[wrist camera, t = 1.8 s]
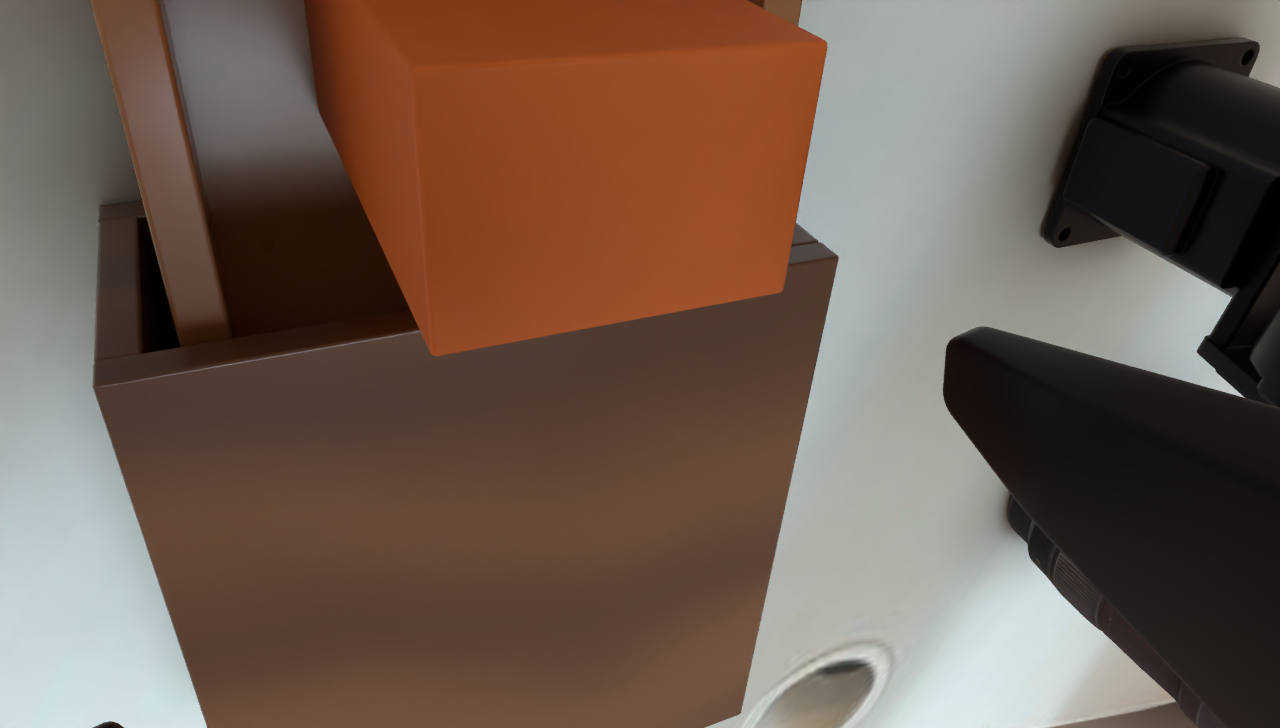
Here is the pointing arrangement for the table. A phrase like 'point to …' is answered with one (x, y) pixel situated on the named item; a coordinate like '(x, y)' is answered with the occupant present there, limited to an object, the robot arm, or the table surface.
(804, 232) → the cabinet
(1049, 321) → the table surface
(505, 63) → the orange rectangular block
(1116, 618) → the camera lens
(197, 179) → the drawer
